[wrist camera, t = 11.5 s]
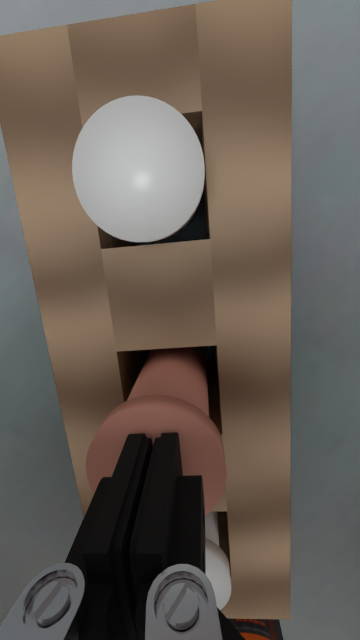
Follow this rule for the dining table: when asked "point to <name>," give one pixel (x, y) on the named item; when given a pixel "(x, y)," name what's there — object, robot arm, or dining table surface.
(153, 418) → the brick plug
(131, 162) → the grey plug
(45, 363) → the dining table surface
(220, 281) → the socket board
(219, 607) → the grey plug
